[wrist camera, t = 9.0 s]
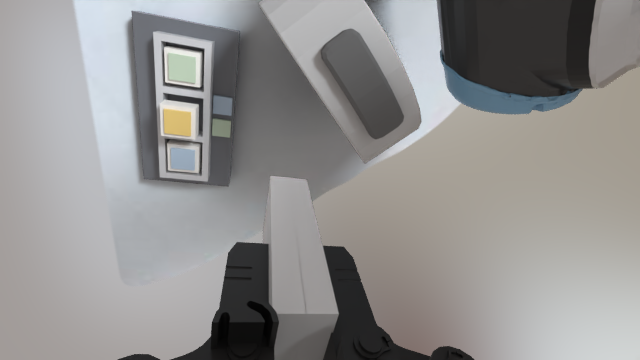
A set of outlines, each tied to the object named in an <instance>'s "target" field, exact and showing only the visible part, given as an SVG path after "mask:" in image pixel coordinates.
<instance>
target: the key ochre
mask: <svg viewBox="0 0 640 360" xmlns="http://www.w3.org/2000/svg"><path fill="white" fill-rule="evenodd" d="M160 124H161V136H168V137H176V138H185V139H193V140H196V138H197V136H198V131H199V104H192V103H185V102H178V101H171V100H163V101H162V102H161V103H160Z"/></svg>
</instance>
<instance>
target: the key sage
mask: <svg viewBox="0 0 640 360" xmlns="http://www.w3.org/2000/svg"><path fill="white" fill-rule="evenodd" d="M203 53H204V52H202V51H196V50H190V49H185V48H179V47H174V46H166V47H164V59H165V82H167V83H173V84H180V85H186V86H193V87H199V88H200V87H201V86H202V85H203Z"/></svg>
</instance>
